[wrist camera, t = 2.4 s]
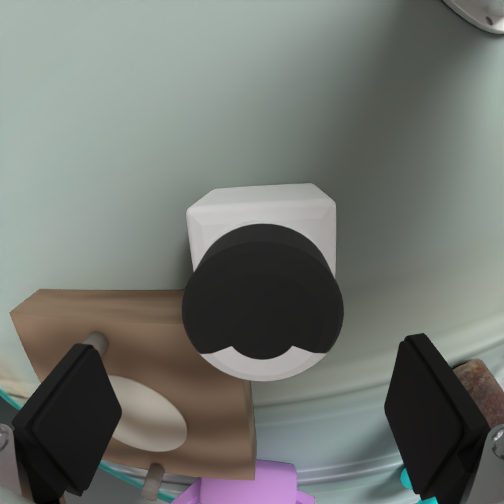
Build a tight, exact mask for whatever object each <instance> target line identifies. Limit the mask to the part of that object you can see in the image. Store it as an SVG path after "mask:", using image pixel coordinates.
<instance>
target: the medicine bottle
mask: <svg viewBox="0 0 504 504" xmlns="http://www.w3.org/2000/svg"><path fill="white" fill-rule="evenodd" d="M186 220H187V227H188V235H189V243H190V250H191V257H192V264H193V271H194V273H193V275H192V276H191V278H190V280H189V282H188V284H187V286H186V288H185V292H184V295H183V300H182V320H183V325H184V328H185V331H186V334H187V336H188V338H189V340H190V342H191V343H192V345H193V346H194V348H195V349H196V350H197V352H198V353H199V354H200V355H201V356H202V357H203V358H204V359H205V360H207V361H208V362H209V363H210V364H212V365H213V366H214V367H216V368H218V369H219V370H221V371H223V372H225V373H227V374H229V375H232V376H234V377H237V378H241V379H246V380H251V381H275V380H281V379H285V378H289V377H292V376H295V375H297V374H299V373H301V372H303V371H305V370H307V369H308V368H310V367H312V366H313V365H315V364H316V363H317V362H318V361H320V360H321V359H322V358H323V357H324V356H325V355H326V354H327V353H328V352H329V351H330V349H331V348H332V346H333V345H334V343H335V342H336V340H337V338H338V336H339V333H340V330H341V327H342V323H343V316H344V307H343V300H342V295H341V292H340V290H339V287H338V285H337V282H336V280H335V269H336V204H335V202H334V201H333V200H332V199H331V198H330V197H329V196H327V195H326V194H325V193H324V192H323V191H321V190H320V189H319V188H318V187H316V186H315V185H314V184H312V183H303V184H280V185H262V186H247V187H232V188H220V189H213V190H212V191H210V192H209V193H208V194H206V195H205V196H204V197H202V198H201V199H200V200H198V201H197V202H196V203H195V204H193V205H192V206H191V207H189V208H188V210H187V211H186Z"/></svg>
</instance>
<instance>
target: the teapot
mask: <svg viewBox="0 0 504 504" xmlns="http://www.w3.org/2000/svg"><path fill="white" fill-rule="evenodd" d="M196 503H200V504H315V497H313V496H310V495H308V494H306V493H303V492H301V491H299V490H297V472H296V470H295V467H294V465H293V464H289V463H282V462H273V461H265V460H256V469H255V480H227V479H212V478H198V479H197V480H196V481H195V482H194V483H193V484H192V485H191V486H190V487H188V488H187V489H186V490H185V491H184V492H183V493H182V494H180V495H179V496H178V497H177V498H176V499H175V500H173V501H172V502H171V503H170V504H196Z"/></svg>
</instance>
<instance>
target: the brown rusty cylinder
mask: <svg viewBox="0 0 504 504" xmlns="http://www.w3.org/2000/svg"><path fill="white" fill-rule="evenodd" d="M453 372H454V373H455V375H456V376H457V377H458V379H459V380H460V382H461V383H462V384H463V386H464V387H465V389H466V390H467V392H468V393H469V395H470V396H471V397H472V399H473V400H474V402H475V403H476V405H477V406H478V408H479V409H480V411H481V412H482V414H483V415H484V417H485V419H486V420H487V422H488V423H489V424H488V425H489V426H490V428H491V430H492V429H493V428H494V427H496V426H498V425H501V424H504V392H503V390H502V388H501V387H500V385H499V384H498V382H497V381H496V379H495V378H494V376H493V375H492V374H491V372H490V371H489V369H488V368H487V367H486V365H485V364H484V362H483V361H482V360H480V359H472V360H470V361H468V362H467V363H466V364H463V365H461V366H459V367H458V366H457V367H456V368H455V369H453Z"/></svg>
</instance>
